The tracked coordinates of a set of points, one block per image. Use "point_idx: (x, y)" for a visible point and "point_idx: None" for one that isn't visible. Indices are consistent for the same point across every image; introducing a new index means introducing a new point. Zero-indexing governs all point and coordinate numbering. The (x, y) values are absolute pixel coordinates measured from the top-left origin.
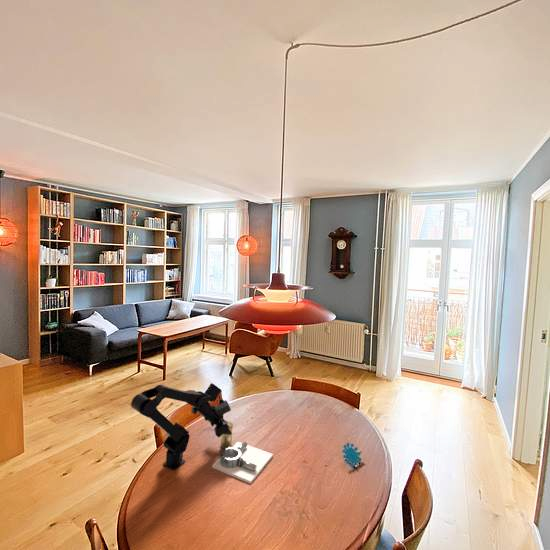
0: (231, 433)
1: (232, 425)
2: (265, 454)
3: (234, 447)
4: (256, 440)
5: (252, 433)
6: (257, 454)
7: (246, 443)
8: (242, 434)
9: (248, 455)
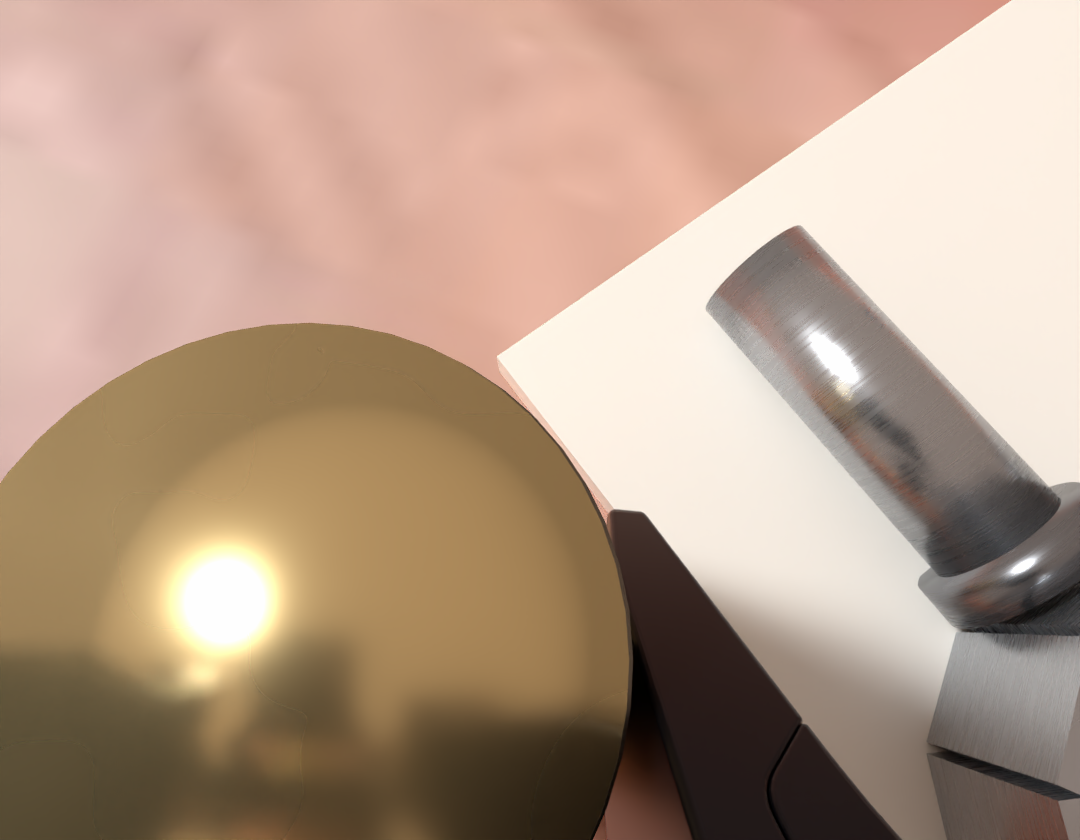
0: (644, 533)
1: (484, 381)
2: (1075, 50)
3: (682, 505)
4: (537, 35)
5: (300, 17)
6: (1046, 170)
7: (808, 233)
8: (241, 182)
9: (1039, 334)
